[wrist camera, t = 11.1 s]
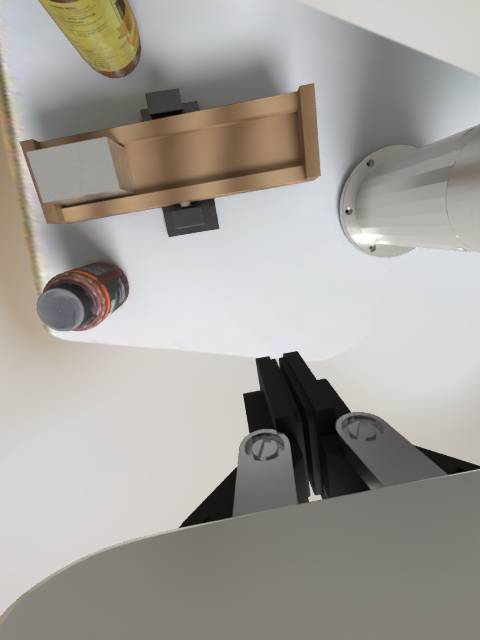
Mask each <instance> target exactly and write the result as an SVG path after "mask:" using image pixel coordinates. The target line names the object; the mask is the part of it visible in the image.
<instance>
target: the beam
mask: <svg viewBox="0 0 480 640" xmlns="http://www.w3.org/2000/svg"><path fill="white" fill-rule="evenodd" d="M102 137H108V138H109V139H111V140H113V141H114V142H116V143H117V144H119V145H121V146H122V147H124V148H125V149H126V152H127V156H128V160H129V165H130V169H131V173H132V177H133V181H134V185H135V189H136V194H133V195H127V196H122V197H116V198H110V199H105V200H99V201H93V202H88V203H82V204H76V205H71V206H67V205H58V204H49V203H43V201H42V198H41V195H40V192H39V189H38V186H37V183H36V180H35V177H34V174H33V171H32V168H31V165H30V162H29V159H28V156H27V153H26V152H29V151H35V150H40V149H45V148H50V147H55V146H60V145H66V144H71V143H76V142H81V141H86V140H92V139H97V138H102ZM20 144H21V147H22V150H23V153H24V156H25V159H26V162H27V165H28V168H29V171H30V174H31V177H32V180H33V183H34V186H35V189H36V192H37V195H38V198H39V201H40V204H41V207H42V209H43V212H44V215H45V218H46V221H47V224H69V223H74V222H80V221H86V220H91V219H97V218H103V217H109V216H114V215H120V214H126V213H131V212H137V211H143V210H149V209H154V208H160V207H166V206H171V205H177V204H180V206H181V208H182V207H189V206H191V205H190V202H194V201H200V200H206V199H211V198H217V197H223V196H228V195H234V194H240V193H245V192H251V191H257V190H263V189H268V188H274V187H280V186H285V185H291V184H297V183H302V182H308V181H313V180H315V179H316V178H318V177H319V176H321V174H320V160H319V146H318V131H317V117H316V103H315V89H314V83H313V84H308V85H303V86H299V89H298V91H297V92H292V93H287V94H282V95H276V96H271V97H266V98H261V99H256V100H251V101H246V102H241V103H236V104H231V105H226V106H221V107H216V108H211V109H206V110H201V111H196V112H191V113H186V114H180V115H175V116H170V117H165V118H160V119H155V120H150V121H145V122H140V123H135V124H130V125H125V126H120V127H115V128H110V129H105V130H100V131H95V132H90V133H84V134H79V135H74V136H69V137H64V138H59V139H54V140H49V141H44V142H38V141H35V140H33V139H31V140H26V141H21V142H20Z"/></svg>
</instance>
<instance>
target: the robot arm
mask: <svg viewBox="0 0 480 640" xmlns="http://www.w3.org/2000/svg"><path fill="white" fill-rule="evenodd" d="M367 163H368V166H367ZM346 210H347V211H348V213H347V214H346V213H345V211H346ZM340 220H341V225H342V228H343V230H344V233H345V235H346V236H347V238H348V239H349V241H350V242H351V243H352V244H353V245H354V246H355V247H356V248H357V249H358V250H360V251H362V252H363V253H365V254H368V255H371V256H376V257H387V258H390V257H395V256H400V255H402V254H405V253H408V252H409V251H411V250H413V249H414V248H416V247H417V248H431V249H442V250H454V251H467V252H478V253H480V124H479V125H476V126H474V127H471V128H469V129H466V130H464V131H461V132H459V133H456V134H454V135H451V136H449V137H447V138H444V139H442V140H439V141H437V142H434V143H432V144H429V145H427V146H424V147H422V148H417V147H414V146H410V145H404V144H401V145H391V146H388V147H384V148H381V149H379V150H377V151H375V152H373V153H372V154H370V155H368V156H367V157H365V158H364V159H363V160H362V161H361V162H360V163H359V164H358V165H357V166H356V167H355V168H354V170H353V171H352V172H351V173H350V175H349V177H348V179H347V181H346V183H345V185H344V188H343V191H342V194H341V199H340ZM369 247H371V249H370V250H369ZM256 365H257V371H258V377H259V384H260V391H255V392H249V393H244V394H243V396H244V403H245V409H246V415H247V421H248V427H249V433H250V434H249V435H248V436H246V437H245V438H244V439H243V440H242V442H241V444H240V447H239V456H238V466H237V467H236V468H235V469H234V470H233V471H232V472H231V473H230V474H229V476H227V477H226V479H225V480H224V481H223V482H222V483H221V484H220V485H219V486H218V487H217V488H216V489H215V490H214V491H213V492H212V493H211V494H210V495H209V496H208V497H207V498H206V499H205V500H204V501H203V502H202V503H201V504H200V506H198V508H197V509H196V510H195V511H194V512H193V513H192V514H191V515H190V516H189V517H188V518H187V519H186V520H185V521H184V522H183V523H182V525H181V526H180V527H179V528H178V529H174V530H170V531H165V532H161V533H157V534H153V535H148V536H144V537H140V538H136V539H132V540H129V541H126V542H122V543H119V544H116V545H113V546H110V547H107V548H104V549H102V550H99V551H97V552H95V553H92V554H90V555H88V556H85V557H83V558H81V559H78V560H77V561H75V562H73V563H71V564H69V565H68V566H66V567H64V568H62V569H60V570H59V571H57V572H55V573H53V574H51V575H50V576H48V577H47V578H45V579H44V580H43V581H41V582H39V583H38V584H36V585H35V586H34V587H32V588H31V589H30V590H28V591H27V592H26V593H24V594H23V595H22V596H21V597H19V598H18V599H17V600H16V602H14V603H13V604H12V605H11V606H10V607H9V608H8V609H7V610H6V611H5V612H4V613H3V614H2V615H1V617H0V640H480V466H478V465H475V464H472V463H469V462H465V461H462V460H459V459H456V458H453V457H450V456H446V455H443V454H440V453H437V452H433V451H431V450H427V449H424V448H421V447H418V446H415V445H412V444H411V443H410V442H409V441H408V440H407V439H405V438H404V437H403V436H402V435H400V434H399V433H398V432H397V431H396V430H395V429H394V428H392V427H391V426H390V425H389V424H388V423H387V422H385V421H384V420H383V419H381V418H380V417H378V416H375V415H372V414H370V413H364V412H353V413H351V412H350V410H349V409H348V407H347V406H346V405H345V403H344V402H343V401H342V399H341V398H340V397H339V396H338V394H337V393H336V391H335V390H334V389H333V387H332V386H331V385H330V383H329V382H328V381H327V380H326V379H320V380H316V378H315V377H314V375H313V374H312V372H311V371H310V369H309V368H308V366H307V365H306V363H305V362H304V360H303V359H302V357H301V356H300V354H299V353H298V352H297V351H295V352H290V353H284V354H283V357H282V358H279V365H280V368H279V366H278V364H277V362H276V359H270V357H269V356H267V357H262V358H256ZM308 479H309V480H308ZM309 481H310V484H311V487H312V489H313V492H314V494H315V495H320V494H321V497H322V499H323V500H317V501H312V502H309V500H308V497H309V496H310V488H309Z"/></svg>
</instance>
